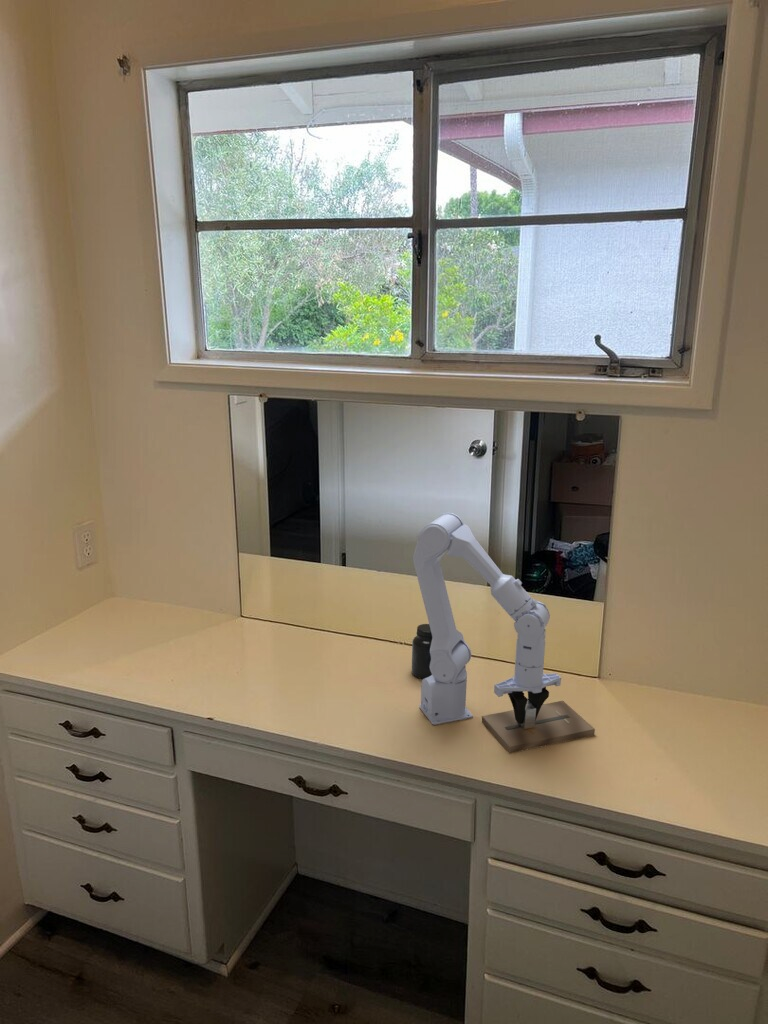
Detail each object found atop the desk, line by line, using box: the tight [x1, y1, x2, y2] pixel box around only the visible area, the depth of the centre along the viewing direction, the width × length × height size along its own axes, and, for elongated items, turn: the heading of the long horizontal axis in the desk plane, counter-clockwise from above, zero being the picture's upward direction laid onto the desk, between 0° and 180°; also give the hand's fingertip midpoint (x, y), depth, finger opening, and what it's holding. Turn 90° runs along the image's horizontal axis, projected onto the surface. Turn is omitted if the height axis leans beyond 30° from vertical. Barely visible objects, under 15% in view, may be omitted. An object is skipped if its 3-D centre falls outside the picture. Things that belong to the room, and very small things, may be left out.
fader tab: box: [520, 701, 536, 729], centre depth 154 cm, size 2×4×4 cm, turn 19°
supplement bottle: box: [411, 623, 432, 680], centre depth 178 cm, size 7×7×12 cm
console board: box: [481, 700, 596, 754], centre depth 156 cm, size 20×12×2 cm, turn 110°
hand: (525, 720), depth 155 cm, fingers closed on fader tab, 2 cm apart
